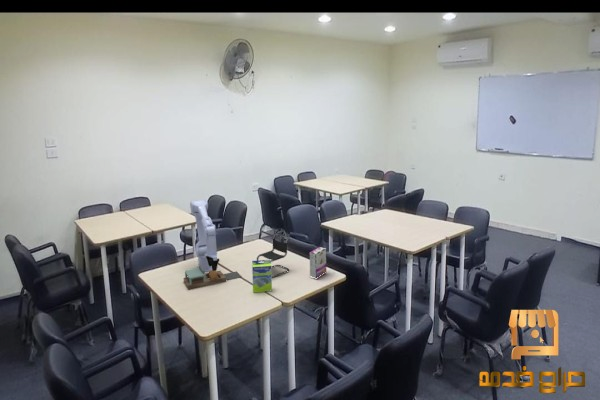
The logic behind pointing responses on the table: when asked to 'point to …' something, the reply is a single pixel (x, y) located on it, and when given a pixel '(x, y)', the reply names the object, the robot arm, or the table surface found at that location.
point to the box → (262, 276)
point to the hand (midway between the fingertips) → (212, 268)
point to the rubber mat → (232, 275)
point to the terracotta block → (212, 275)
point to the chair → (280, 247)
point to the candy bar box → (317, 262)
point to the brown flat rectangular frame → (200, 281)
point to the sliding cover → (195, 273)
